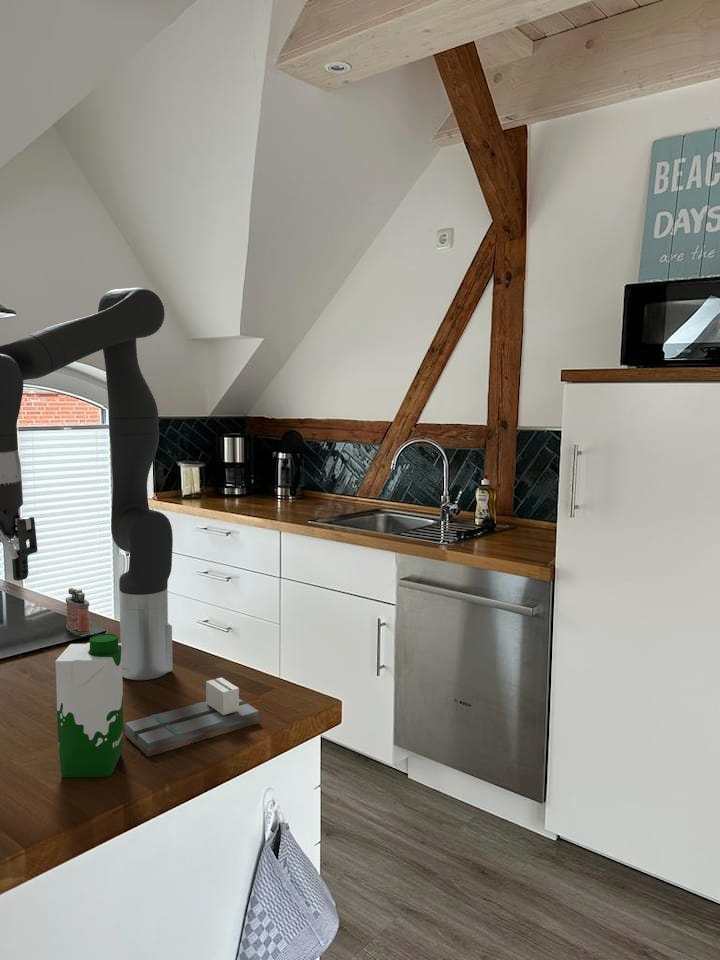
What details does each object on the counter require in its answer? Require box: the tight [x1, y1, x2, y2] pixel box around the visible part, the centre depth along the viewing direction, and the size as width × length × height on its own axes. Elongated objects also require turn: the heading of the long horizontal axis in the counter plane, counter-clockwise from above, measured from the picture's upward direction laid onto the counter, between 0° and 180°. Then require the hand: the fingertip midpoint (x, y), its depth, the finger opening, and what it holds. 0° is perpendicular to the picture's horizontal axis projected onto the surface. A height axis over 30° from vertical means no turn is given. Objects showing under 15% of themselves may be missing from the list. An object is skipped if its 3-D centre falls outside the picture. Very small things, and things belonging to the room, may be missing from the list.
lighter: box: [65, 587, 91, 635], centre depth 176 cm, size 8×3×10 cm, turn 47°
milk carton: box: [54, 633, 124, 779], centre depth 114 cm, size 9×9×20 cm
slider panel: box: [124, 698, 260, 758], centre depth 127 cm, size 20×9×2 cm, turn 129°
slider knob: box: [205, 676, 240, 715], centre depth 131 cm, size 3×6×5 cm, turn 39°
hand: (2, 576), depth 125 cm, fingers open, 8 cm apart
